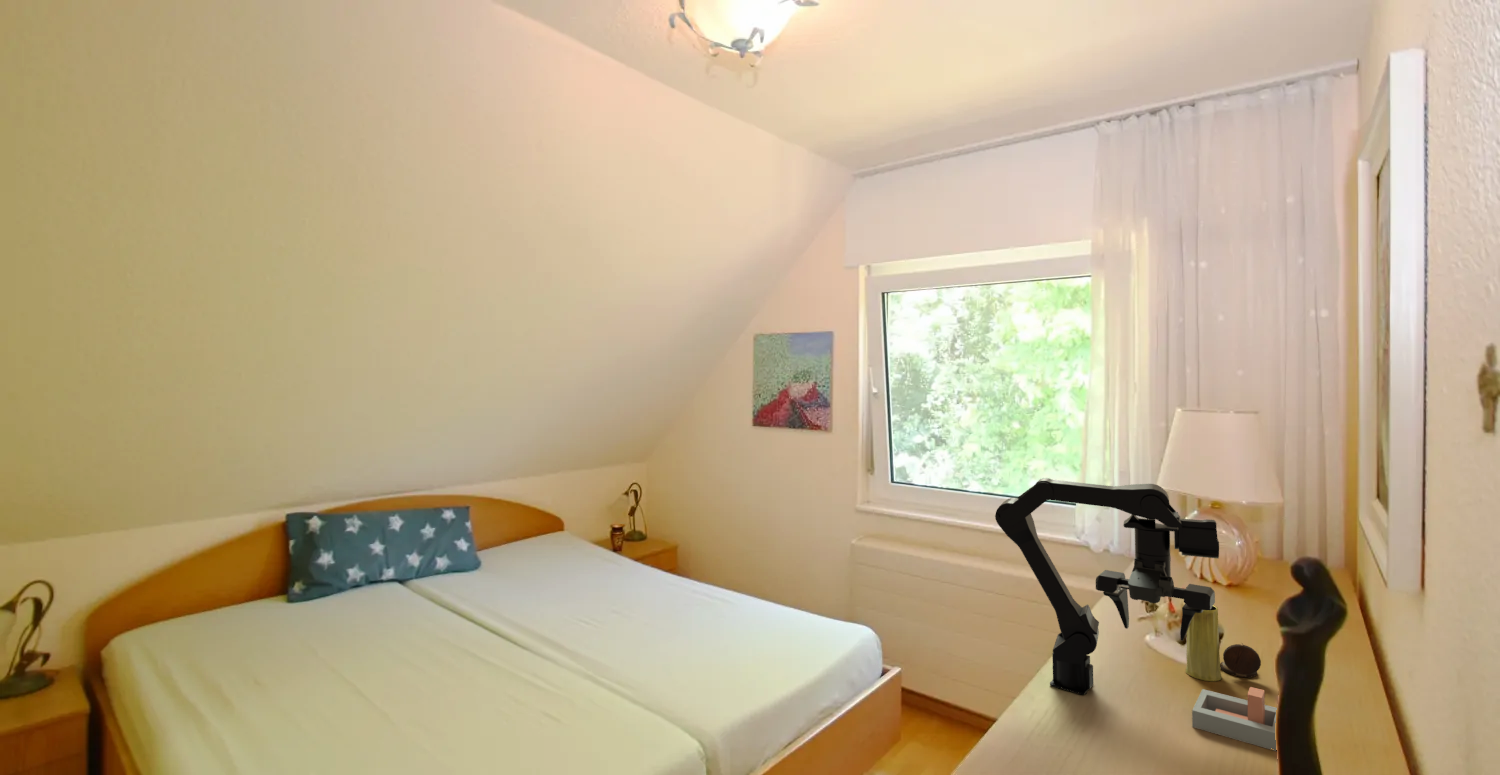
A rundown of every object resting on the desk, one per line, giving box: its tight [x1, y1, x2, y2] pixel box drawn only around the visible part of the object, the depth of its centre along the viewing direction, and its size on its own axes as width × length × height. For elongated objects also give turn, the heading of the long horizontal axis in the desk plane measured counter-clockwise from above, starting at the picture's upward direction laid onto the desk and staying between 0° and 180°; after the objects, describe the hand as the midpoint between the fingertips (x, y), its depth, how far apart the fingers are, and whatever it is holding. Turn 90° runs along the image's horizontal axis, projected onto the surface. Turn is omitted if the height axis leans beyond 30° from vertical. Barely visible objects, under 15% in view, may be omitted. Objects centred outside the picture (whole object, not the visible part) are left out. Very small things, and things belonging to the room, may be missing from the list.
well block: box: [1191, 688, 1278, 752], centre depth 117 cm, size 12×10×3 cm
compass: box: [1220, 642, 1262, 678], centre depth 137 cm, size 8×8×7 cm
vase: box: [1185, 604, 1223, 682], centre depth 136 cm, size 6×6×14 cm
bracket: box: [1215, 686, 1266, 725], centre depth 117 cm, size 7×4×7 cm, turn 47°
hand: (1153, 633), depth 126 cm, fingers open, 9 cm apart
